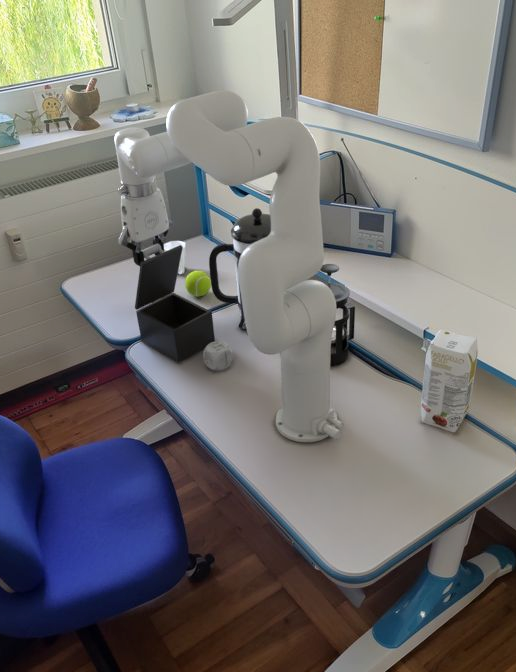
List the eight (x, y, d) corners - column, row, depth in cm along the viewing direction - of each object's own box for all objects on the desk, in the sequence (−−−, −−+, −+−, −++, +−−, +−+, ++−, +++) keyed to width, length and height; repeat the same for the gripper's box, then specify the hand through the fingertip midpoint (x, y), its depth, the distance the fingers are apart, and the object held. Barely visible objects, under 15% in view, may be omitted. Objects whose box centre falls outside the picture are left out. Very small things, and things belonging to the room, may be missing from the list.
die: (217, 373, 150) (215, 355, 148) (203, 364, 154) (201, 347, 151) (233, 364, 153) (232, 346, 150) (220, 356, 156) (218, 338, 153)
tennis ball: (181, 295, 182) (178, 272, 178) (201, 286, 186) (198, 263, 182) (197, 303, 178) (194, 280, 174) (217, 294, 181) (214, 271, 177)
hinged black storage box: (215, 342, 161) (211, 311, 156) (178, 363, 155) (173, 331, 150) (177, 322, 170) (173, 292, 165) (141, 341, 164) (135, 310, 159)
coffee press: (268, 297, 178) (263, 190, 161) (304, 321, 167) (301, 209, 150) (213, 318, 171) (201, 208, 154) (246, 345, 159) (237, 230, 143)
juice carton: (458, 437, 128) (470, 357, 118) (415, 423, 132) (424, 344, 122) (470, 415, 134) (483, 336, 123) (429, 402, 138) (438, 325, 127)
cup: (184, 263, 199) (181, 238, 194) (196, 276, 191) (193, 251, 186) (162, 268, 196) (158, 243, 192) (173, 282, 189) (169, 256, 184)
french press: (319, 372, 149) (319, 281, 136) (298, 352, 156) (296, 264, 143) (362, 357, 153) (366, 267, 140) (341, 338, 160) (342, 251, 147)
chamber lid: (182, 246, 153) (169, 233, 155) (142, 264, 147) (128, 250, 148) (174, 291, 165) (161, 278, 167) (136, 310, 158) (123, 296, 160)
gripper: (117, 203, 138) (130, 279, 148) (180, 180, 147) (188, 253, 158) (97, 194, 142) (110, 269, 153) (159, 172, 152) (168, 244, 162)
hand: (150, 260), depth 155 cm, fingers closed on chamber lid, 5 cm apart
